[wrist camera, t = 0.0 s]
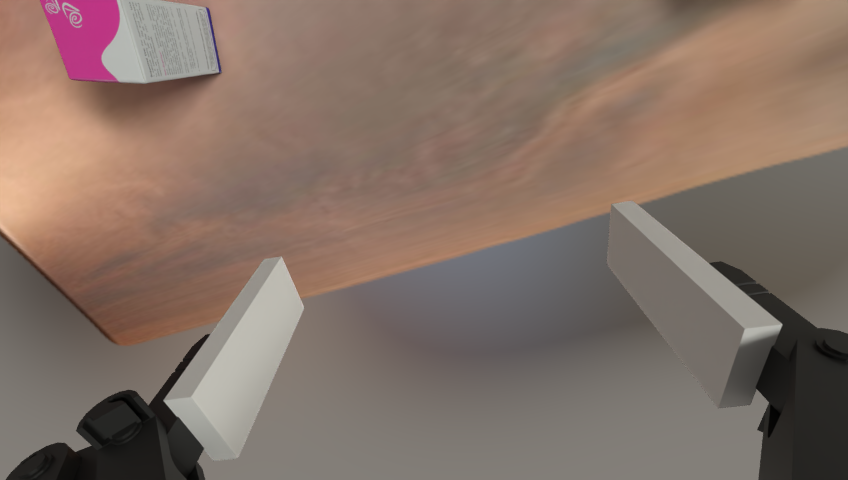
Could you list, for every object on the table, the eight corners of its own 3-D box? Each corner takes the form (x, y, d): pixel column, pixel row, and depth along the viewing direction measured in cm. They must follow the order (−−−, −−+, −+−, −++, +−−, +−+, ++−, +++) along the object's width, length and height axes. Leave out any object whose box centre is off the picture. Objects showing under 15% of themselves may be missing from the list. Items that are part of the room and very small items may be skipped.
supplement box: (209, 4, 34) (119, -7, 24) (223, 73, 37) (148, 89, 27) (146, 0, 34) (30, -12, 24) (165, 70, 37) (69, 85, 27)
